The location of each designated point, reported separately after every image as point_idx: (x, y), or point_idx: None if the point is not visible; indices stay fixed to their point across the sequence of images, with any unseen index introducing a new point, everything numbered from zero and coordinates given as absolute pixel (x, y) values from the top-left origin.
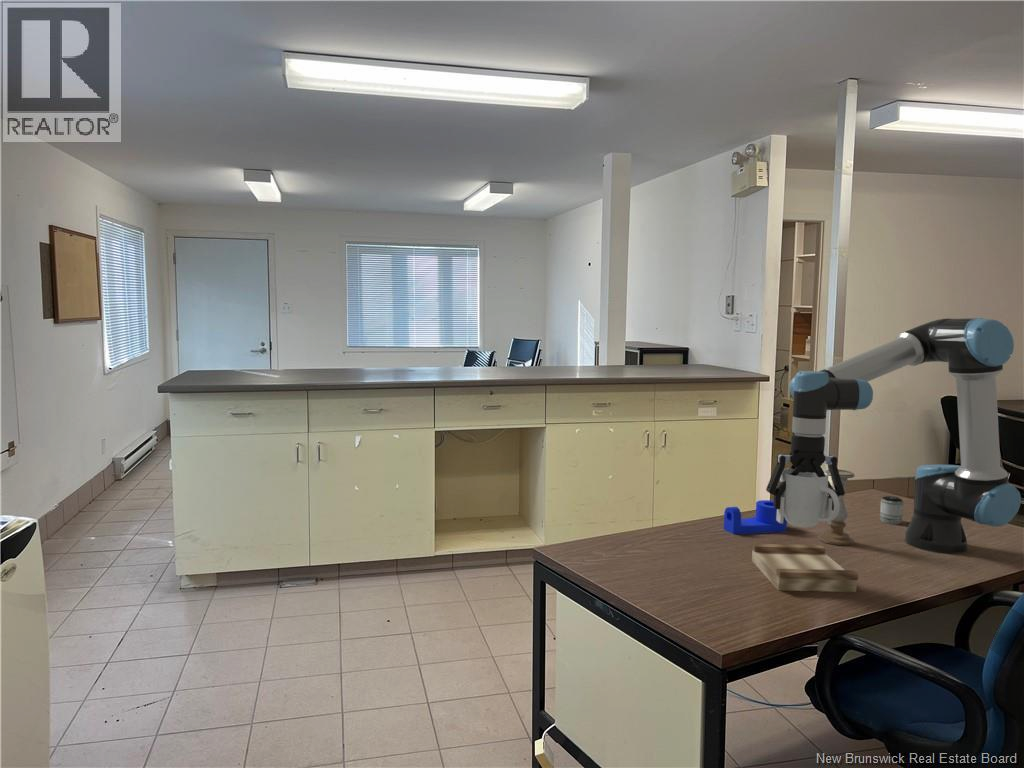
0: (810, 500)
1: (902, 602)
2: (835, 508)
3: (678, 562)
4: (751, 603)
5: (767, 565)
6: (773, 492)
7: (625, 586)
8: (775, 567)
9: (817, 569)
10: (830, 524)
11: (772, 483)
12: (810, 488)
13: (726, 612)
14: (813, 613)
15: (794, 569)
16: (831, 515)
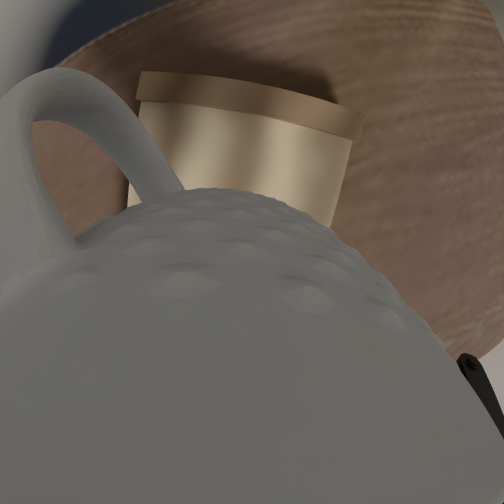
0: (264, 206)
1: (100, 39)
2: (89, 74)
3: (429, 300)
4: (425, 84)
5: (334, 208)
6: (463, 361)
7: None
8: (323, 190)
9: (208, 158)
10: (108, 215)
11: (496, 404)
12: (314, 271)
13: (467, 76)
14: (334, 7)
15: (312, 122)
16: (124, 115)
